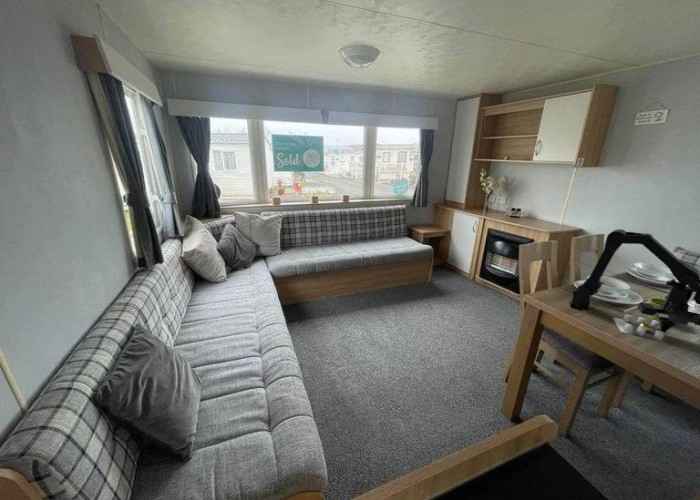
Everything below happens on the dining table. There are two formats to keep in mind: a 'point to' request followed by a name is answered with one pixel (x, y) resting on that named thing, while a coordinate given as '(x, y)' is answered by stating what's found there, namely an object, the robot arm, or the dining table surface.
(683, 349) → the dining table surface
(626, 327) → the board
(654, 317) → the plant pot
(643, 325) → the brass knob
